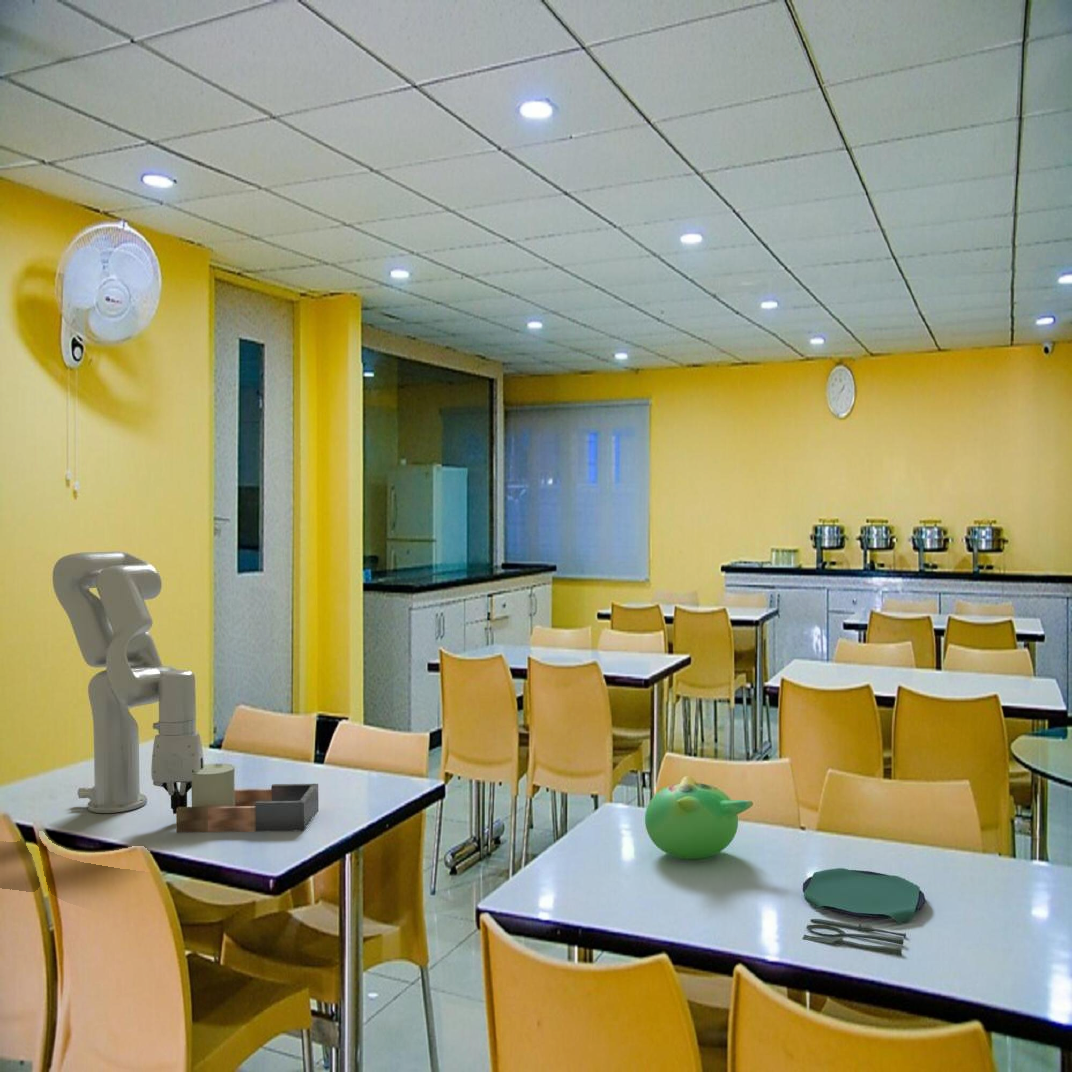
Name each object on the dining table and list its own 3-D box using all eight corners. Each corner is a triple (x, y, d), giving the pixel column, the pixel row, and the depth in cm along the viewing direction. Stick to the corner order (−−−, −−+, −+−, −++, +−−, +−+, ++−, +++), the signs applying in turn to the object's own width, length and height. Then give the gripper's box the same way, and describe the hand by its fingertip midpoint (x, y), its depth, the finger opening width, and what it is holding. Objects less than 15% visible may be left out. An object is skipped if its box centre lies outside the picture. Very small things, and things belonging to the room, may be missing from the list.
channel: (176, 832, 202) (176, 808, 202) (199, 811, 216) (199, 789, 216) (255, 831, 202) (255, 807, 202) (273, 810, 217) (272, 788, 217)
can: (242, 815, 213) (241, 761, 213) (225, 828, 204) (224, 772, 204) (202, 814, 214) (201, 760, 214) (183, 827, 205) (182, 771, 205)
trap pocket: (255, 831, 202) (255, 803, 202) (273, 810, 217) (272, 784, 217) (304, 830, 202) (303, 802, 202) (318, 810, 217) (318, 783, 217)
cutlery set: (930, 890, 168) (929, 877, 168) (915, 965, 141) (914, 949, 141) (813, 873, 177) (813, 861, 177) (778, 941, 150) (778, 926, 150)
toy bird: (710, 837, 197) (710, 765, 196) (757, 864, 181) (757, 786, 181) (631, 848, 190) (630, 774, 190) (673, 878, 174) (673, 797, 174)
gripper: (136, 732, 205) (137, 817, 205) (206, 731, 205) (207, 816, 205) (150, 724, 213) (151, 807, 213) (217, 723, 213) (219, 806, 213)
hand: (179, 811), depth 209 cm, fingers closed
